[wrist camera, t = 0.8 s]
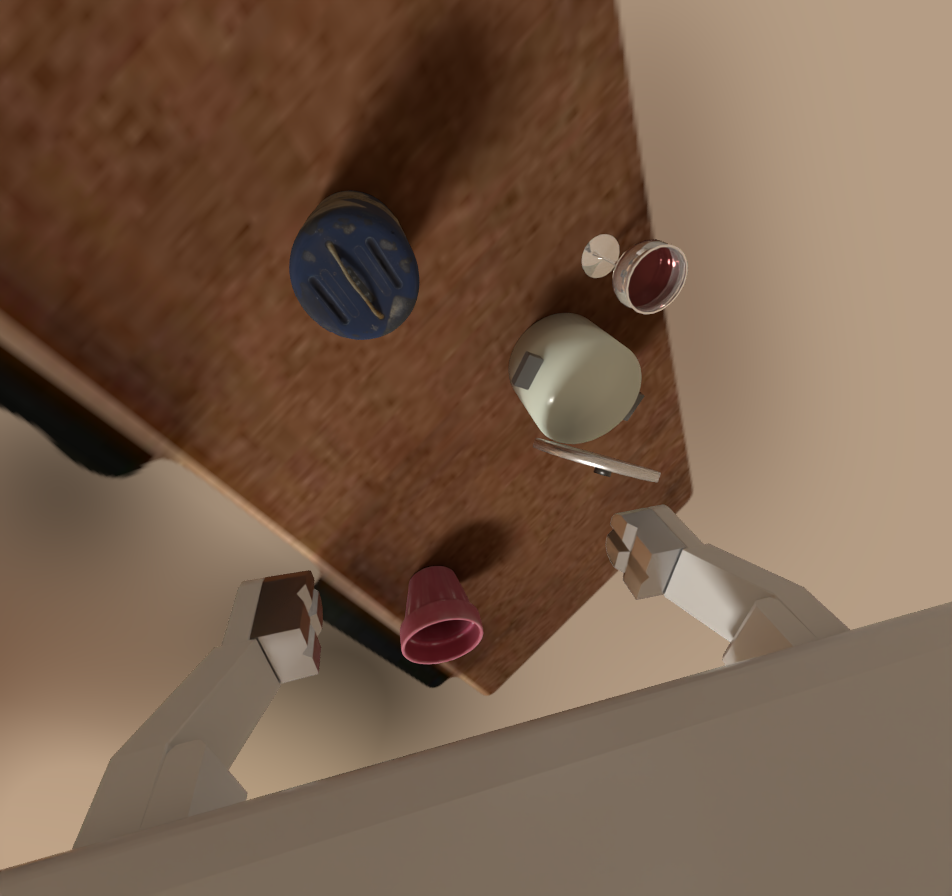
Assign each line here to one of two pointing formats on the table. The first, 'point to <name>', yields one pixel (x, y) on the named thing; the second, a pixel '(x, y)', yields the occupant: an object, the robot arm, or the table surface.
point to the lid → (597, 461)
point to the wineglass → (638, 271)
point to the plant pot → (438, 618)
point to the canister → (354, 267)
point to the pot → (574, 378)
